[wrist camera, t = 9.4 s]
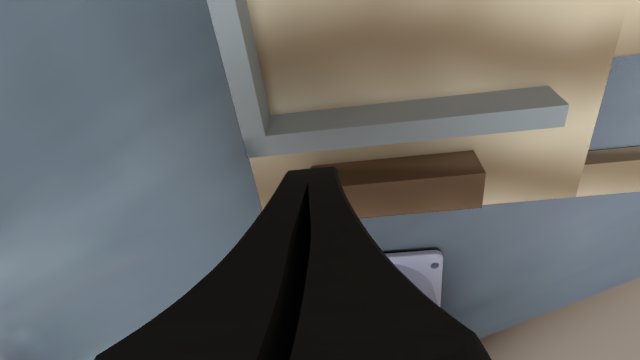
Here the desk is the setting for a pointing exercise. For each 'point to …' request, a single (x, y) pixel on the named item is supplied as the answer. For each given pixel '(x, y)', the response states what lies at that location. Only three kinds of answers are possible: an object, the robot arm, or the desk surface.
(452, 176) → the walnut bar
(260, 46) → the birch board
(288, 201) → the robot arm
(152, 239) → the desk surface
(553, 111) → the grey rectangular frame
